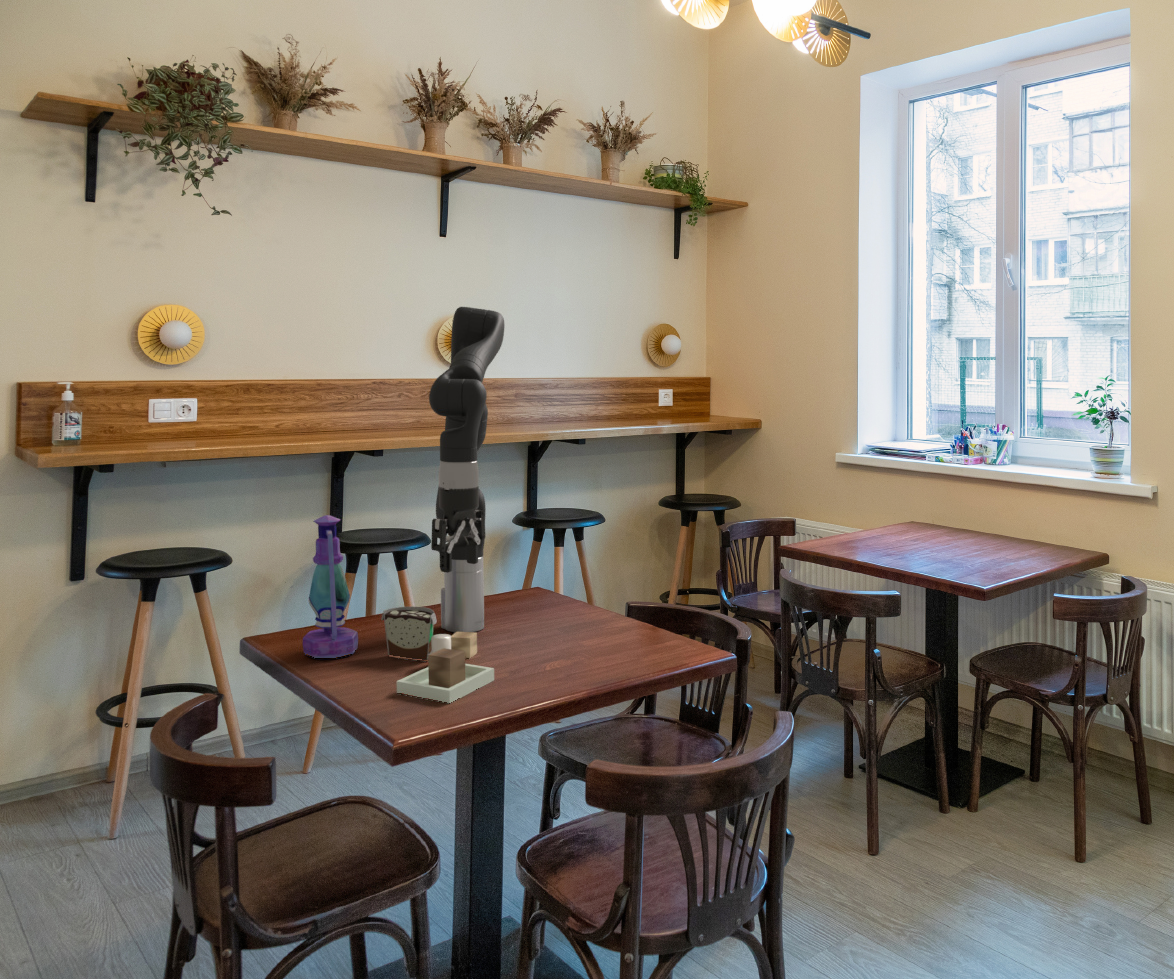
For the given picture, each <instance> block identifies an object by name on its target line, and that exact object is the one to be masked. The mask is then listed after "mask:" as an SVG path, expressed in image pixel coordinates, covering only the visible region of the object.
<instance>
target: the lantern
mask: <svg viewBox="0 0 1174 979" xmlns="http://www.w3.org/2000/svg"><path fill="white" fill-rule="evenodd" d="M313 522H314V523H315V524H317V525H318V527H317V530H318V531H317V532H318V538H317V539H316V540H315V555H314V556H313V557H312V562H314V564H315V565H316V566H315V568H314V571H313V575H312V579H311V584H310V588H309V589H310V590H309V594H308V595H309V596H308V604H309V606H310V608H311V609H312V611H313V613H314V614H315V616H316V617H315V620H314V621H316V622H315V624H314V626H315V627H317V628H319V629H313V630H309V632H307V633H306V634H305V635H304V636H303V637H302V649H303V654H304V653H305V654H304V655H306V654H308V655H310V656H312V657H311V658H313V657H314V658H313V659H315V658H336V657H341V656H344V655H348V654H352V655H354V653H355V652H356V651H357V649H358V647H359V646H358V644H359V633H358V632H357V631H356V630H354V629H351V628H348V627H343V626H344V625H345V624H346V621H345V614H344V613H345V611H346V610H347V607H348V605H349V603H350V599H351V595H350V591H349V587H348V584H347V579H346V576H345V572H344V570H343V567H342V565H341V563H342V561H343V560H344V555H343V554H342V553H341V548H340V547H341V545H340V544H341V542H340V541H341V540H340V538H339V537H337V525H336V524H338V523H339V522H341V519H340V518H337V517H336V516H333V515H330V514H329V515H328V514H326V515H323V516H319V517H318V518H316V519H314V520H313ZM355 650H356V651H355ZM308 655H307V656H308ZM310 656H309V657H310ZM341 658H342V657H341ZM336 659H337V658H336Z"/></svg>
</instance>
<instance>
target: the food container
mask: <svg viewBox="0 0 1174 979" xmlns="http://www.w3.org/2000/svg"><path fill="white" fill-rule="evenodd" d="M380 620H381V621H384V623H383V624H384V630H385V640H386V646H387V654H388V655H393V656H400V657H406V658H412V659H422V660H428V655H429V654H431V653H432V646H431V637H432V636H433V635H434V625H436V624H437V616H436V613H435V611H434V610H433V609H432V608H428V607H425V606H424V607H423V606H398V607H392V608H388V609H384V610H383V612H382V614H381V619H380Z"/></svg>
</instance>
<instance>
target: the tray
mask: <svg viewBox="0 0 1174 979" xmlns="http://www.w3.org/2000/svg"><path fill="white" fill-rule="evenodd" d="M465 679H466V680H464V681H462V682H460V683H458V684H456V685H454V686H452V687H450V688H443V687H438V686H432V685H429V671H428V666H427V667H426V668H423V669H420V670H418V671H416V672H414V673H411V674H410V675H408V676H406V677H403V678H401V679H398V680H396V694H397V693H404V694H408V695H413V696H417V697H422V698H421V699H423V698H429V699H433V700H438V701H437V702H439V701H442V702H441V703H444V702H447V703H446V704H449V703H450V704H452V703H454V702H456V701H457V699H458V698H460V699H461V698H464V697H465V696H467V695H469V694H471V693H472V692H475V691H477V690H478V688H479V689H480V688H483V687H485V686H486V685H488V684H490V683H491V682H494V681H495V668H494V667H488V666H482V665H476V664H472V663H471V664H470V663H465ZM476 689H477V690H476ZM417 697H416V698H417ZM433 700H432V701H433ZM455 700H456V701H455ZM458 700H459V699H458ZM453 701H454V702H453ZM451 702H452V703H451Z"/></svg>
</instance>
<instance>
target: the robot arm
mask: <svg viewBox="0 0 1174 979" xmlns="http://www.w3.org/2000/svg"><path fill="white" fill-rule="evenodd" d="M452 317H453V318H452V324H451V325H452V326H451V341H450V342H451V344H450V350H451V351H450V364H449V368H448V369H446V370H445V371H444V372H442V373H441V375H439V376H438V377H437V378H436V379H435V380H434V382H433V384H432V386H431V388H430V391H429V394H428V395H429V396H428V400H429V405H430V408H431V409H432V411H433V413H435V414H437V415H438V416H442V417H445V424H444V430H443V431H442V432H441V433H440V435H439V470H438V488H437V493H436V501H435V517H436V518H433V519H432V521H431V544H430V545H431V546H430V548H431V550H432V551H436V552H438V553H439V568H440V572H442V573H443V577H444V578H443V584H444V586H443V587H442V588H441V589H440V622H441V625H440V626H441V629H444V630H445V631H448V632H451V633H456V632H474V633H476V632H478V631H481V630H483V629H485V585H484V584H485V583H484V582H485V579H484V575H485V574H484V550H485V549H484V548H485V539H486V500H485V496H484V493H483V491H482V490H481V488H479V487H480V486H479V485H480V484H479V483H480V481H479V476H480V475H479V473H480V472H479V466H478V451H479V450H480V449H481V447H482V445H483V444H484V441H485V439H486V435H487V426H488V415H489V412H488V411H489V410H488V406H487V396H488V394H487V389H486V387H485V385H484V384H483V381H484V378H485V374H486V371H487V369H488V367H489V366H490V364H491V363H492V362H493V360H494V359H495V357H496V356H497V354H498V353H499V352H500V349H501V348H502V345H503V341H504V337H505V336H504V335H505V319H504V317H503V315H502V313H500V312H499V311H495V310H490V309H485V308H484V309H483V308H476V307H471V306H459V307H458V308H456V310H455V312H454V313H453V316H452ZM438 539H439V542H438Z"/></svg>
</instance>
